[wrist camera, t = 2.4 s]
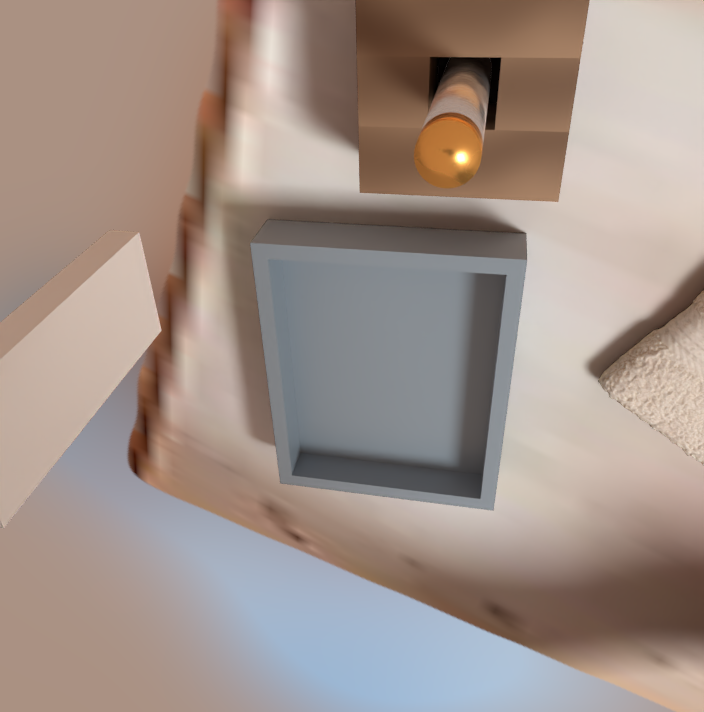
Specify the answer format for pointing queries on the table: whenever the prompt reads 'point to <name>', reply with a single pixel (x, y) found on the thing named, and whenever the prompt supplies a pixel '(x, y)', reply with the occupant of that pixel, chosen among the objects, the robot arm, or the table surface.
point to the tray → (389, 355)
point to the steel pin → (455, 124)
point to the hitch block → (504, 119)
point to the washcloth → (666, 379)
